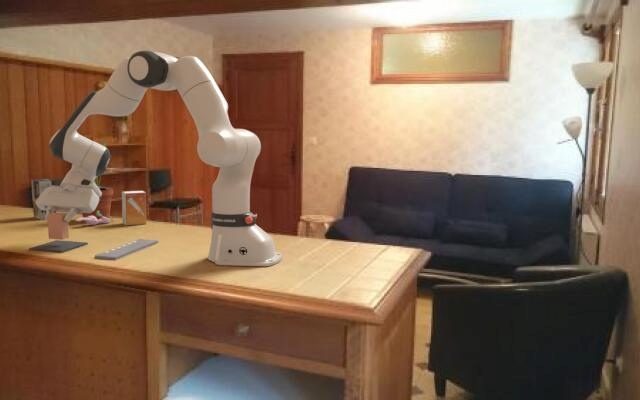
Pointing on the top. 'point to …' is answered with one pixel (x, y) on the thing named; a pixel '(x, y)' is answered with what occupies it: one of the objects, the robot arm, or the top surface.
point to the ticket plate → (126, 249)
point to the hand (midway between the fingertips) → (56, 220)
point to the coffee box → (37, 190)
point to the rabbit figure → (95, 219)
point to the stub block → (57, 226)
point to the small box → (134, 207)
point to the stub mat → (58, 246)
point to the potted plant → (102, 200)
